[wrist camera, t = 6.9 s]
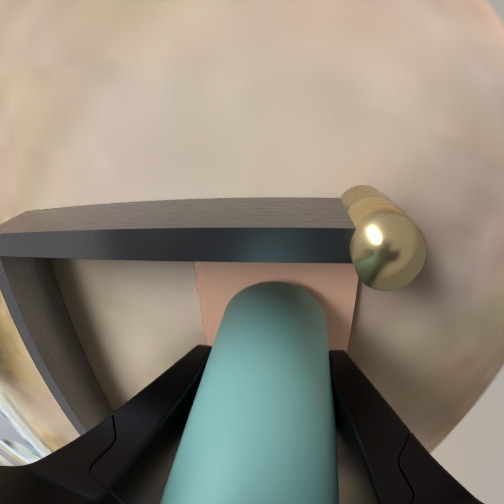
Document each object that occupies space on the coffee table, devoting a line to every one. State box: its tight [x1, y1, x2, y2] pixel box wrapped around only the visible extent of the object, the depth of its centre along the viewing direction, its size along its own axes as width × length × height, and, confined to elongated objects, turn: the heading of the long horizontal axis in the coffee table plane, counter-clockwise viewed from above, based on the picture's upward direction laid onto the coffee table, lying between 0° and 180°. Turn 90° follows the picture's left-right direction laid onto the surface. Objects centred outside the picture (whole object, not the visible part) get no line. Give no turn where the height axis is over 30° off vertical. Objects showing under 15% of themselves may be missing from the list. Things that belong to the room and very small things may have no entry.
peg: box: [159, 281, 339, 504], centre depth 6 cm, size 3×3×7 cm
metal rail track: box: [0, 185, 427, 436], centre depth 11 cm, size 16×14×3 cm
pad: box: [194, 261, 358, 353], centre depth 10 cm, size 5×5×1 cm
